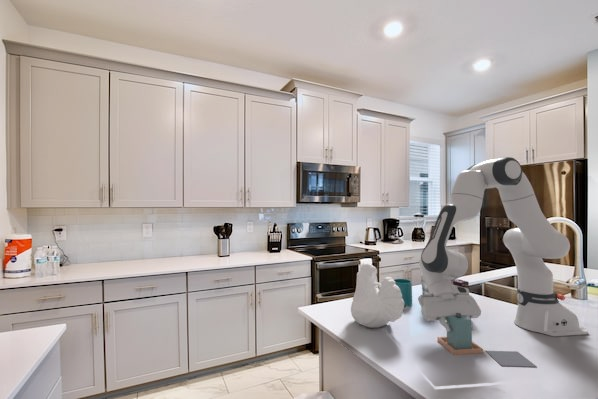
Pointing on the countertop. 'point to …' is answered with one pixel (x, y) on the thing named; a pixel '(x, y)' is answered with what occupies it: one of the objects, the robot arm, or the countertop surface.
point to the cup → (405, 290)
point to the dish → (463, 351)
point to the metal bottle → (424, 287)
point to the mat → (510, 359)
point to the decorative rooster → (375, 299)
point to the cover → (459, 332)
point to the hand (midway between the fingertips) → (460, 331)
